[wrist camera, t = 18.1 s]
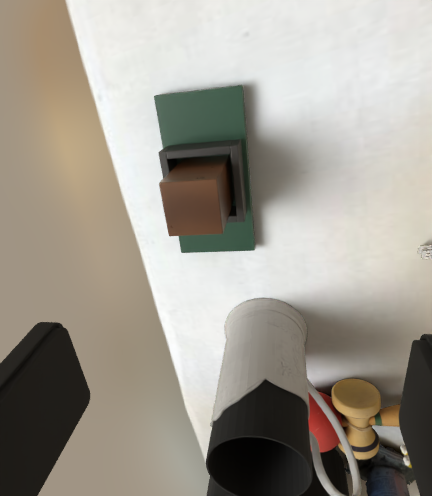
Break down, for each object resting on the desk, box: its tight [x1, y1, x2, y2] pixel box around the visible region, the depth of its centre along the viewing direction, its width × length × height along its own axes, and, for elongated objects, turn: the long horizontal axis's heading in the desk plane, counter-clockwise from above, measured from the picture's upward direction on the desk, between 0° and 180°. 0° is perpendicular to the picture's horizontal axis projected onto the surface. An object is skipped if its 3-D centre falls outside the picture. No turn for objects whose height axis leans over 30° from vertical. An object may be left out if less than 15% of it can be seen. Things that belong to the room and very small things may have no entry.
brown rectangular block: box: [159, 155, 234, 236], centre depth 28 cm, size 4×4×7 cm
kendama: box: [308, 379, 400, 459], centre depth 39 cm, size 8×6×18 cm
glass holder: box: [206, 298, 361, 496], centre depth 33 cm, size 9×14×15 cm, turn 58°
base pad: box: [154, 85, 255, 253], centre depth 31 cm, size 14×7×4 cm, turn 6°
